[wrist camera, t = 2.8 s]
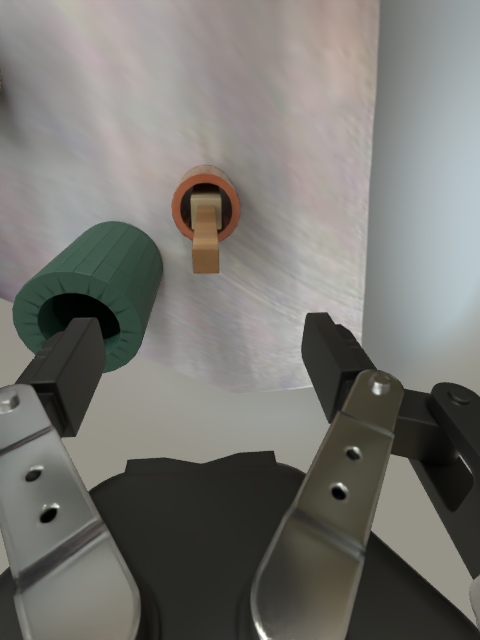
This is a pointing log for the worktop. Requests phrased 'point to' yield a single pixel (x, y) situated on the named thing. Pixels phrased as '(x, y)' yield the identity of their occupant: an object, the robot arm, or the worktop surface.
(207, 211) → the brush
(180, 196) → the cup
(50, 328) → the green tube sleeve
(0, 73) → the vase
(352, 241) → the worktop surface
